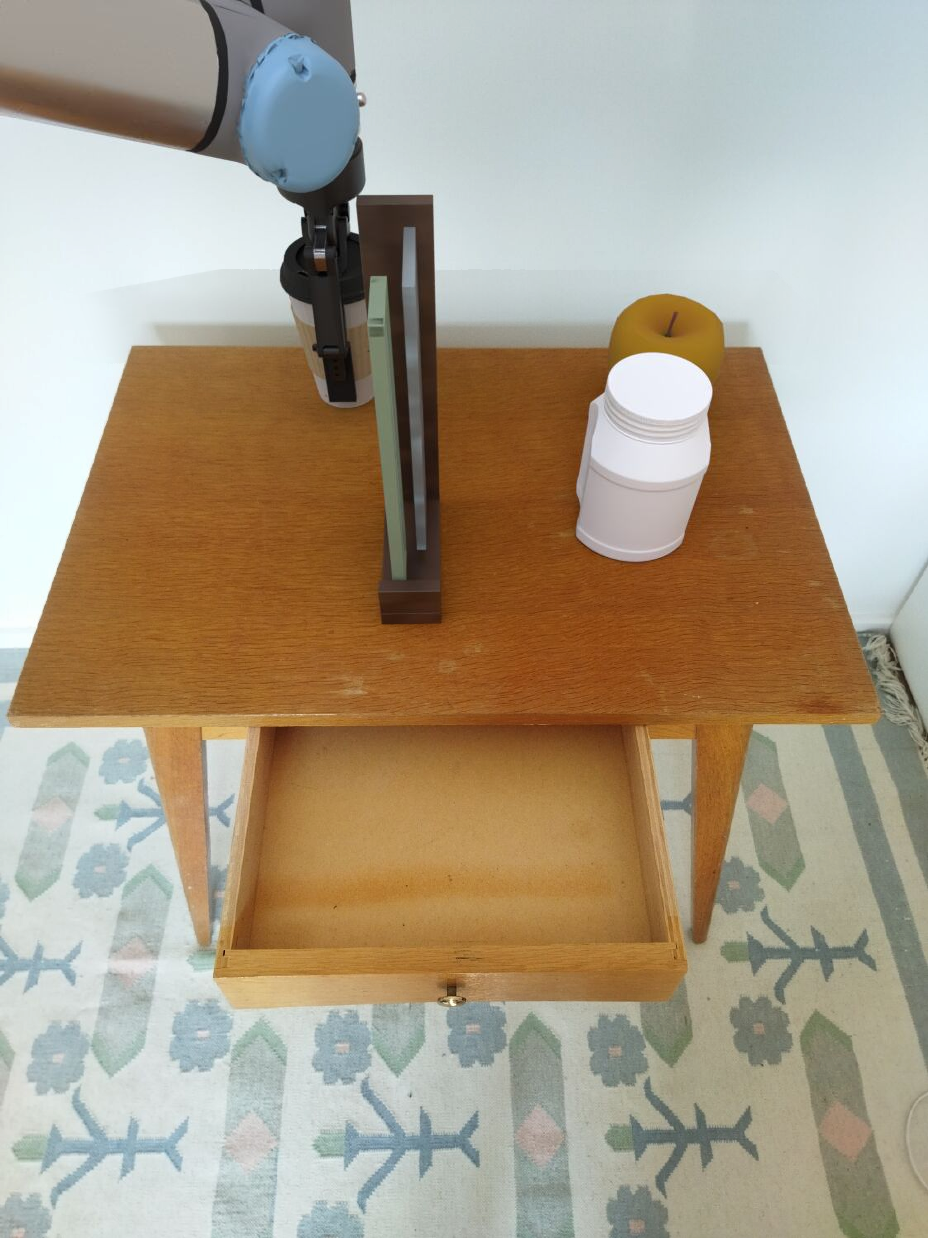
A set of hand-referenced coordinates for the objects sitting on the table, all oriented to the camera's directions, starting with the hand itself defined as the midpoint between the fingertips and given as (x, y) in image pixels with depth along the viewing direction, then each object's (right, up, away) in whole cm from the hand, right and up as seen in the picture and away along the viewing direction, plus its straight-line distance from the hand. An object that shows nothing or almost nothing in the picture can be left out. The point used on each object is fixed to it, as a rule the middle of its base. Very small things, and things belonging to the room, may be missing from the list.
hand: (345, 369), depth 85 cm
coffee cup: (0, -2, +2) cm, 3 cm away
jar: (+27, -16, -8) cm, 33 cm away
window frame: (+8, -20, -11) cm, 25 cm away
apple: (+31, -6, 0) cm, 32 cm away
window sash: (+7, -22, -15) cm, 27 cm away
